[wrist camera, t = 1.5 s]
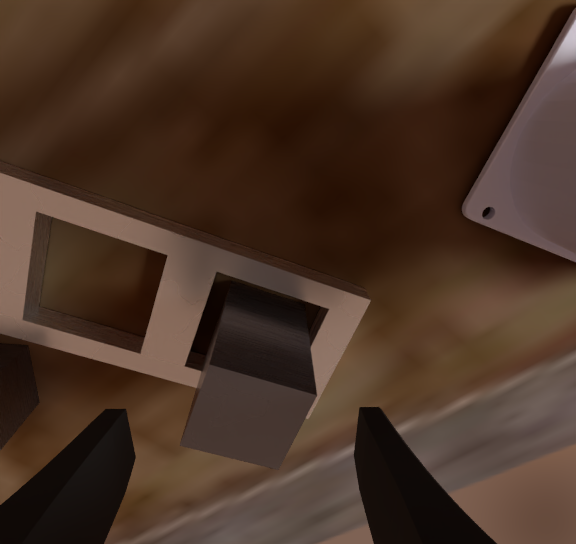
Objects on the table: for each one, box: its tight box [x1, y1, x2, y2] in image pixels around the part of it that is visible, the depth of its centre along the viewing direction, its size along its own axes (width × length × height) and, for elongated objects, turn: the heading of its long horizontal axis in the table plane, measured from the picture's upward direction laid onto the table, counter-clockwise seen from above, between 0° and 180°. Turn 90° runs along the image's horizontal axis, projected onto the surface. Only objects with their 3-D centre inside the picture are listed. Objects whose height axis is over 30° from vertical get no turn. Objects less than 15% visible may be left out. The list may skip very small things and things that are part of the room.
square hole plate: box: [0, 161, 371, 419], centre depth 16 cm, size 22×7×1 cm, turn 69°
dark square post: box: [180, 281, 317, 470], centre depth 15 cm, size 4×4×6 cm
